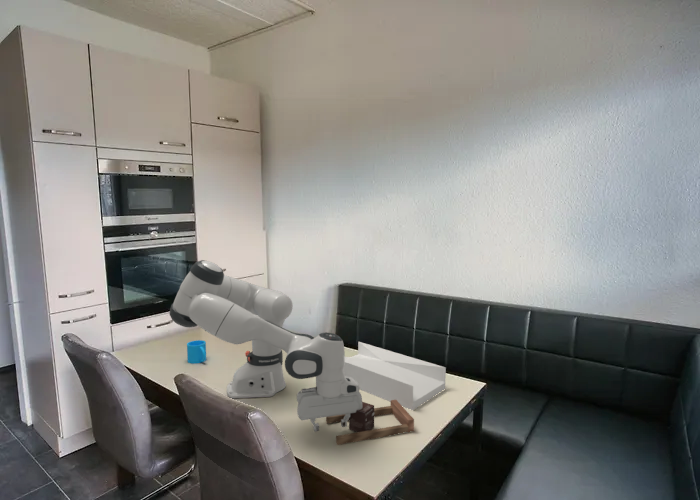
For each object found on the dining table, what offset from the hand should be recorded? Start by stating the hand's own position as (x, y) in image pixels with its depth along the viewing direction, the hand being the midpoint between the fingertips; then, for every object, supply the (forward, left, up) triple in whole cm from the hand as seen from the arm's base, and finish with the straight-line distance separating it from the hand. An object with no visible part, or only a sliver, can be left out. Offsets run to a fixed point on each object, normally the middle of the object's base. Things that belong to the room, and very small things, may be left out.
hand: (330, 428), depth 128 cm
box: (+10, 0, -2) cm, 10 cm away
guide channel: (+12, 0, -2) cm, 12 cm away
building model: (+29, +30, -2) cm, 42 cm away
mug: (-42, +76, -2) cm, 87 cm away
